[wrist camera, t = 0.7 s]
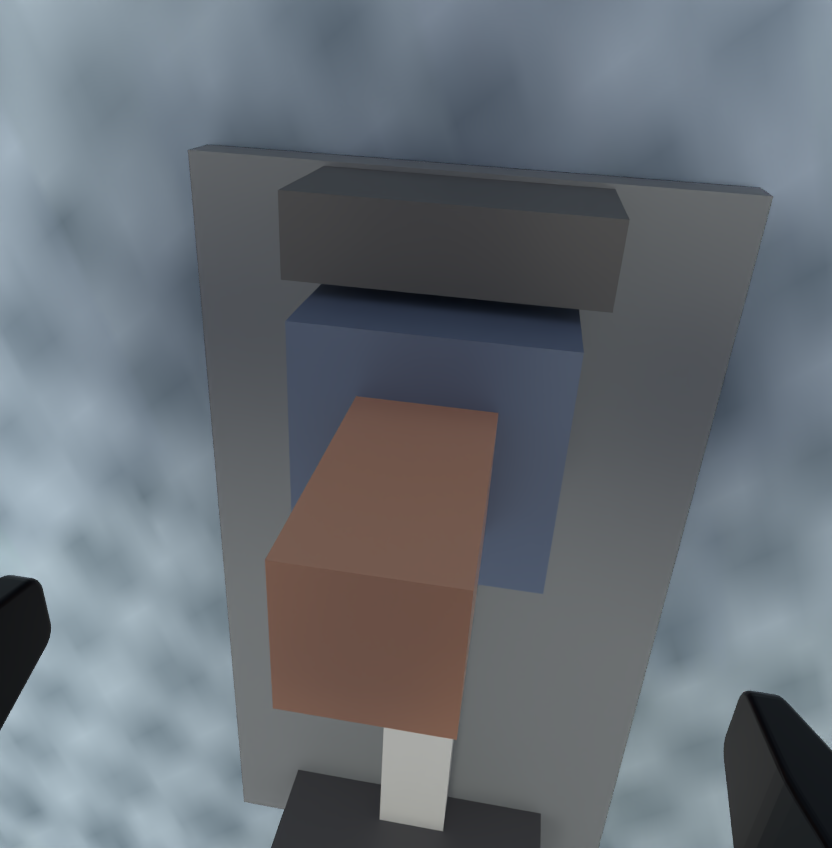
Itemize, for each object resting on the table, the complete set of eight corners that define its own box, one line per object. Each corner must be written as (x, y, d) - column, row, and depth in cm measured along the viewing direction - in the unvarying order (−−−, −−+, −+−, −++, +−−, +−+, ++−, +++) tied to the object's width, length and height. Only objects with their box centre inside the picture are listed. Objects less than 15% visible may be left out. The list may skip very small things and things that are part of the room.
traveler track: (591, 838, 25) (600, 1006, 21) (254, 776, 27) (195, 921, 22) (760, 187, 15) (845, 244, 11) (207, 144, 17) (83, 178, 12)
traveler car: (544, 508, 17) (540, 818, 10) (331, 480, 17) (192, 754, 11) (577, 297, 15) (602, 515, 8) (331, 273, 15) (154, 455, 8)
